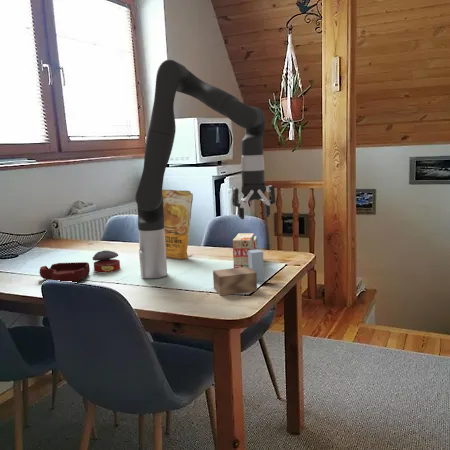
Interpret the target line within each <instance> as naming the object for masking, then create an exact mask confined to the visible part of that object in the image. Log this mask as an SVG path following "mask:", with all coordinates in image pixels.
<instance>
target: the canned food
mask: <svg viewBox="0 0 450 450" xmlns="http://www.w3.org/2000/svg"><path fill="white" fill-rule="evenodd" d="M117 257H119V254H118V253H117V252H116V251H111V250H100V251H97V252H96V253H95V254H94V255H93V257H92V261H95V262H93V271H94V272H95V271H96V272H95V273H99V272H107V273H112V272H111V271H113V272H117V271H118V270H120V269H121V265H120V264H121V263H120V260H119V259H115V258H117ZM116 270H117V271H116Z"/></svg>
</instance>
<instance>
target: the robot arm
mask: <svg viewBox="0 0 450 450" xmlns="http://www.w3.org/2000/svg"><path fill="white" fill-rule="evenodd" d="M176 93H181V94H184V95H187V96H190V97H192V98H194V99H197V100H198V101H200V102H201V103H203V104H204V105H205V106H207V107H208V108H210V109H212V110H213V111H215V112H216V113H219V114H220V115H222V116H224V117H225V118H228V119H229V120H231V122H233V123H234V124H236V125H237V126H239V127H240V128H243V129H245V130H244V137H243V138H242V139H241V142H240V144H241V145H240V146H241V148H240V149H241V160H240V169H241V187H239V188H238V187H233V188H232V204H231V205H232V206H234V207H235V208H237V209H238V210H237V213H238V218H239V219H240V220H245V208H244V207H245V205H246V204H247V203H248V201H254V200H257V201H258V200H260V201H261V202H262V203H263V204H264V206H263V215H264V218H269V217H270V216H271V206H272V204H273V205H274V204H275V203H276V194H275V193H276V192H275V186H274V185H265V183H266V182H265V180H266V179H265V175H266V174H265V158H264V146H263V145H264V142H263V140H264V134H265V130H266V129H265V126H266V116H265V113H264V111H263V110H262V109H261V108H260V107H257V106H250V105H248V104H246V103H245V102H242V101H240V99H238V97H236V96H235V95H233V94H230V93H229V92H227V91H226V90H223V89H221V88H219V87H218V86H214V85H212V84H209V83H208V82H205V81H204V80H202V79H201V78H199V77H198V76H196V75H195V74H194V73H192V72H191V71H190V70H189V69H188V68H187V67H186V66H184V65H183V64H181V63H179V62H177V61H176V60H174V59H165V60H164V61H162V62H161V63H160V65H159V66H158V69H157V72H156V78H155V89H154V97H153V104H152V105H153V106H152V110H151V115H150V122H149V127H148V129H147V130H148V131H147V134H146V141H145V147H144V148H145V149H144V158H143V160H144V161H143V168H142V173H141V177H140V180H139V184H138V187H137V190H136V192H135V197H134V198H135V203H136V207H137V229H138V230H137V231H138V247H139V249H138V253H139V267H140V269H139V270H140V276H141V279H160V278H164V277H166V276H168V266H167V265H168V264H167V257H166V246H165V230H164V208H163V194H162V190H163V187H164V177H165V173H166V169H167V167H168V164H169V162H170V161H169V160H170V158H171V157H170V156H171V154H172V151H173V147H174V143H175V137H176V129H177V127H176V119H175V111H174V110H175V109H174V107H175V106H174V105H175V99H176V98H175V97H176ZM265 192H267V193H268V198H267V197H266V195H265ZM241 193H242V197H241V199H240V200H239V195H241Z"/></svg>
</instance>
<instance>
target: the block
mask: <svg viewBox="0 0 450 450" xmlns="http://www.w3.org/2000/svg"><path fill="white" fill-rule="evenodd" d="M248 266H249V267H250V268H251V269H252V270H254V271H255V272H256V273H257V282H262V281H261V280H264V281H265V274H264V273H265V272H264V268H265V267H264V266H265V265H264V251H263V250H261V249H258V250H249V251H248Z"/></svg>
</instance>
